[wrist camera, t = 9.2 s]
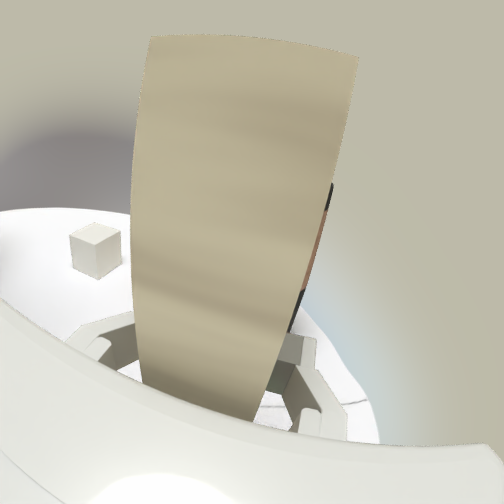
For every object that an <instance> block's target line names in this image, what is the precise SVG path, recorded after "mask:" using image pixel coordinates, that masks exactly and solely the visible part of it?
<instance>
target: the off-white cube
mask: <svg viewBox="0 0 504 504" xmlns="http://www.w3.org/2000/svg"><path fill="white" fill-rule="evenodd" d="M69 238H70V247H71V255H72V262H73V268H74V269H76V270H78V271H80V272H82V273H84V274H86V275H88V276H91V277H93V278H95V279H97V280H100V279H101V278H102V277H104V276H105V275H106V274H108V273H109V272H111V271H112V270H113V269H115V268H116V267H117V266H119V265H120V264H122V261H121V236H120V230H117V229H114V228H111V227H107V226H104V225H101V224H98V223H95V222H94V223H92V224H90V225H88V226H86V227H84V228H82V229H80V230H78V231H76V232H74V233H72V234H70V235H69Z"/></svg>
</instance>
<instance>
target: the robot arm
mask: <svg viewBox="0 0 504 504" xmlns="http://www.w3.org/2000/svg"><path fill="white" fill-rule="evenodd" d="M316 343H317V340H316V339H314V338H310V337H306V336H300V335H296V334H292V333H288V332H286V335H285V338H284V340H283V343H282V346H281V349H280V352H279V354H278V357H277V360H276V363H275V366H274V368H273V371H272V374H271V376H270V379H269V382H268V384H267V387H266V391H269V392H273V393H277V394H280V395H282V398H283V401H284V403H285V406H286V408H287V410H288V413H289V415H290V418H291V420H292V423H293V425H292V426H291V428H290V429H289V431H286V430H281V429H277V428H272V427H268V426H264V425H260V424H256V423H253V422H249V421H245V420H242V419H238V418H235V417H232V416H228V415H225V414H222V413H219V412H216V411H213V410H210V409H207V408H204V407H201V406H198V405H195V404H192V403H190V402H187V401H184V400H182V399H179V398H176V397H174V396H171V395H169V394H166V393H164V392H161V391H159V390H157V389H154V388H152V387H150V386H147V385H145V384H143V383H141V382H138V381H136V380H134V379H132V378H130V377H128V376H126V375H124V374H121V373H119V372H117V370H118V369H120V368H122V367H124V366H126V365H128V364H130V363H132V362H134V361H136V360H138V359H139V355H138V347H137V339H136V330H135V320H134V312H132V311H129V312H126V313H123V314H119V315H116V316H112V317H109V318H105V319H102V320H99V321H95V322H92V323H88V324H84V325H81V326H80V327H79V328H78V329H77V330H76V331H75V332H74V333H73V334H72V335H71V336H70V337H69V338H68V339H67V340H66V341H65V342H63V341H61V340H60V339H58V338H57V337H55V336H53V335H52V334H50V333H49V332H47V331H46V330H44V329H43V328H41V327H40V326H38V325H37V324H35V323H34V322H32V321H31V320H30V319H28V318H27V317H25V316H24V315H22V314H21V313H20V312H18V311H17V310H16V309H14V308H13V307H12V306H10V305H9V304H8V303H6V302H5V301H4V300H3V299H1V298H0V504H504V463H503V462H502V460H501V459H500V458H499V457H498V456H497V454H496V453H495V452H494V451H493V450H492V449H491V448H490V447H489V446H488V445H487V444H485V443H473V444H463V445H446V446H401V445H400V446H398V445H382V444H370V443H359V442H351V441H347V413H346V412H345V410H344V409H343V407H342V406H341V404H340V403H339V401H338V400H337V398H336V397H335V395H334V394H333V392H332V391H331V389H330V388H329V386H328V384H327V383H326V381H325V380H324V378H323V377H322V375H321V374H320V372H319V371H318V370H315V357H316Z"/></svg>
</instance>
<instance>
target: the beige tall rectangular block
mask: <svg viewBox="0 0 504 504" xmlns="http://www.w3.org/2000/svg"><path fill="white" fill-rule="evenodd" d="M358 61H359V57H357V56H353V55H349V54H346V53H342V52H338V51H334V50H330V49H325V48H320V47H316V46H311V45H305V44H300V43H294V42H288V41H281V40H274V39H266V38H257V37H246V36H232V35H167V36H166V35H165V36H152V37H151V39H150V44H149V48H148V53H147V58H146V64H145V69H144V74H143V80H142V86H141V92H140V99H139V106H138V115H137V123H136V132H135V141H134V152H133V166H132V183H131V213H130V248H131V278H132V295H133V308H134V320H135V330H136V339H137V347H138V355H139V362H140V369H141V376H142V382H143V384H145V385H147V386H150V387H152V388H154V389H157V390H159V391H161V392H164V393H166V394H169V395H171V396H174V397H176V398H179V399H182V400H184V401H187V402H190V403H192V404H195V405H198V406H201V407H204V408H207V409H210V410H213V411H216V412H219V413H222V414H225V415H228V416H232V417H235V418H238V419H242V420H245V421H249V422H253V420H254V418H255V415H256V413H257V410H258V408H259V405H260V402H261V400H262V397H263V395H264V392H265V390H266V387H267V384H268V382H269V379H270V376H271V374H272V371H273V368H274V366H275V363H276V360H277V357H278V354H279V352H280V349H281V346H282V343H283V340H284V338H285V335H286V332H287V329H288V326H289V323H290V320H291V317H292V314H293V311H294V308H295V305H296V302H297V299H298V296H299V293H300V290H301V287H302V283H303V280H304V277H305V274H306V271H307V267H308V264H309V261H310V258H311V254H312V251H313V248H314V244H315V241H316V237H317V234H318V230H319V227H320V223H321V220H322V216H323V213H324V209H325V205H326V202H327V198H328V194H329V190H330V187H331V183H332V179H333V175H334V171H335V167H336V163H337V159H338V155H339V151H340V146H341V142H342V138H343V133H344V129H345V125H346V120H347V115H348V111H349V106H350V102H351V97H352V92H353V87H354V82H355V77H356V71H357V66H358Z"/></svg>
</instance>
